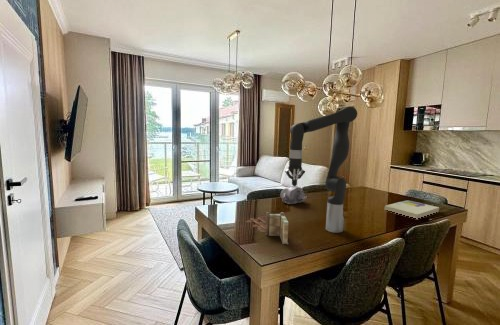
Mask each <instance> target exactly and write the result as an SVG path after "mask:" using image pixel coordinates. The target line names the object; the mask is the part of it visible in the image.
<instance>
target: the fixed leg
mask: <svg viewBox="0 0 500 325" xmlns="http://www.w3.org/2000/svg"><path fill="white" fill-rule="evenodd" d="M281 216H285V212H283V211H281V212H280V213H270V212H269V211H268V212H265V218H266V225H265V226H266V231H265V232H264V233H265V236H269V235H280V228H281Z"/></svg>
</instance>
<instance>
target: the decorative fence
mask: <svg viewBox="0 0 500 325" xmlns="http://www.w3.org/2000/svg"><path fill="white" fill-rule="evenodd" d="M261 222H262V223H261ZM245 223H255V224H253V225H252V227H253V228H256V227H258V228H259V227H261V228H262V229H260V230H259V232H261V233H265V232H266V217H261V216H257V218H254V217H252V218H251V217H250V219H248V220H245Z"/></svg>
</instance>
